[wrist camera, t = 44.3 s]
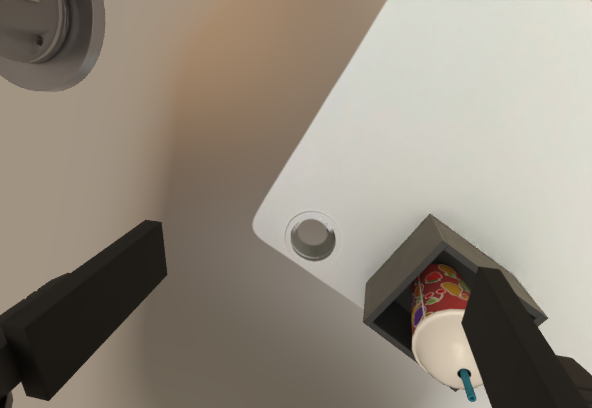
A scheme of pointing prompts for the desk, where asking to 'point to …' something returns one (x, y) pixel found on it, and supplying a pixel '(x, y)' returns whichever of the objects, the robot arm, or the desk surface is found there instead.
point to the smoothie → (443, 328)
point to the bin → (410, 264)
